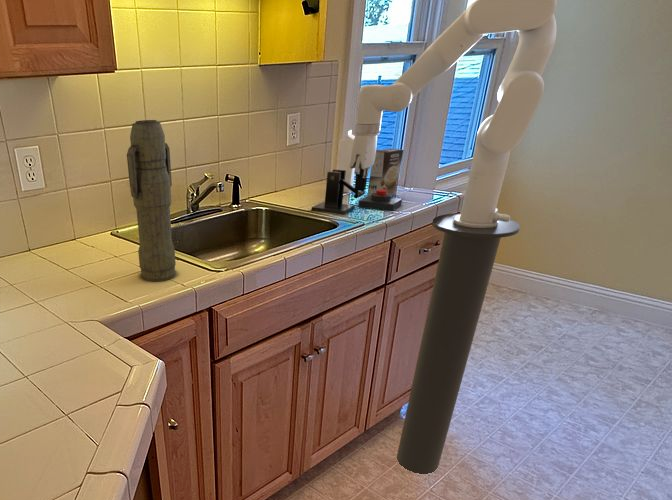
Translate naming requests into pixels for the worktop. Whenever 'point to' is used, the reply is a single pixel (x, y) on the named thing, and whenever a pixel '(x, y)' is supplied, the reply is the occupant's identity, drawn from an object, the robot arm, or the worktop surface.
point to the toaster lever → (351, 188)
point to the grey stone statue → (152, 199)
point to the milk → (346, 158)
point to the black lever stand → (334, 195)
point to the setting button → (381, 192)
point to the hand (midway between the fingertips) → (359, 190)
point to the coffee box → (385, 171)
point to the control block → (380, 202)
